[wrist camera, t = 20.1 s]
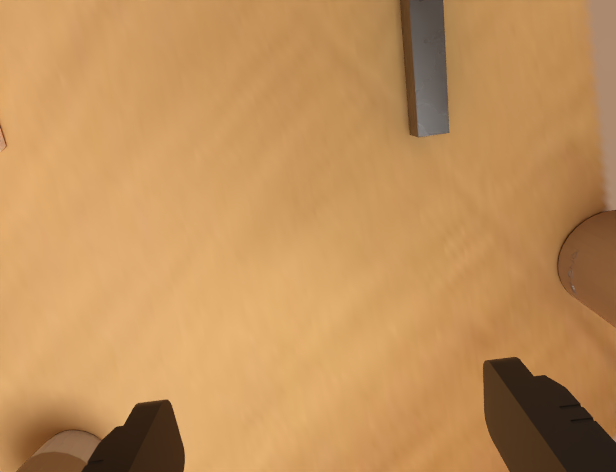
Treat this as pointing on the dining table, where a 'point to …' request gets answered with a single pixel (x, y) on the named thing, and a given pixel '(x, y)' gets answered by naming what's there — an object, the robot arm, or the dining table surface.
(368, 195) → the dining table surface
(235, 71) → the dining table surface
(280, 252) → the dining table surface
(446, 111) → the turner
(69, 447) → the coffee cup
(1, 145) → the jar
